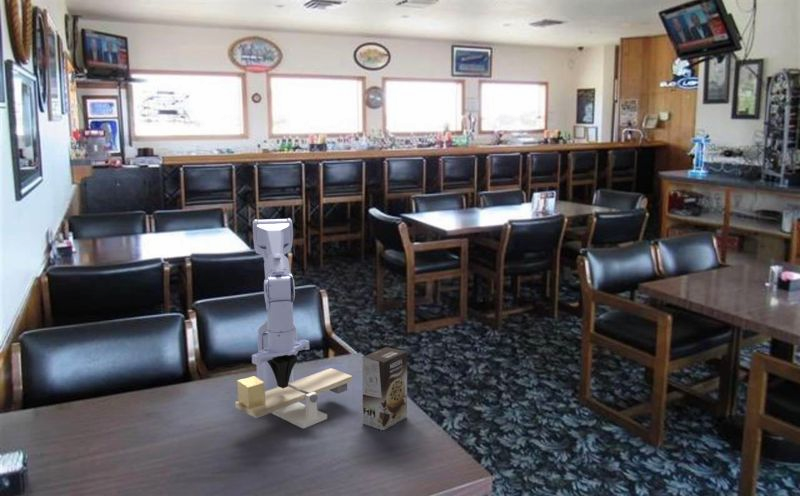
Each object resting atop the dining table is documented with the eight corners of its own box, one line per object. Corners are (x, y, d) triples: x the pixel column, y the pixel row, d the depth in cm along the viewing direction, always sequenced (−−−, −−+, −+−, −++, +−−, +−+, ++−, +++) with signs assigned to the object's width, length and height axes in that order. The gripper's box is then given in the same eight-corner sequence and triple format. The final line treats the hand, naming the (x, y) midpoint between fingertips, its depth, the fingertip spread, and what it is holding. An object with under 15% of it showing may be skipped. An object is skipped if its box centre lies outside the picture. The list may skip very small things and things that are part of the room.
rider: (255, 397, 147) (238, 401, 145) (253, 376, 146) (237, 380, 144) (265, 404, 143) (248, 409, 141) (264, 382, 142) (247, 387, 140)
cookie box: (383, 431, 145) (383, 362, 142) (361, 423, 148) (360, 356, 145) (408, 417, 152) (408, 351, 149) (386, 410, 156) (386, 345, 153)
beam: (235, 417, 145) (234, 401, 144) (330, 381, 165) (330, 367, 164) (257, 429, 139) (256, 412, 139) (353, 390, 160) (353, 375, 159)
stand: (268, 411, 155) (267, 384, 153) (292, 402, 160) (291, 376, 158) (303, 428, 146) (302, 399, 145) (327, 418, 151) (326, 390, 150)
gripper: (264, 340, 138) (266, 400, 141) (317, 325, 149) (318, 382, 151) (245, 333, 143) (247, 392, 145) (297, 319, 153) (299, 374, 156)
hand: (282, 386), depth 148 cm, fingers closed
